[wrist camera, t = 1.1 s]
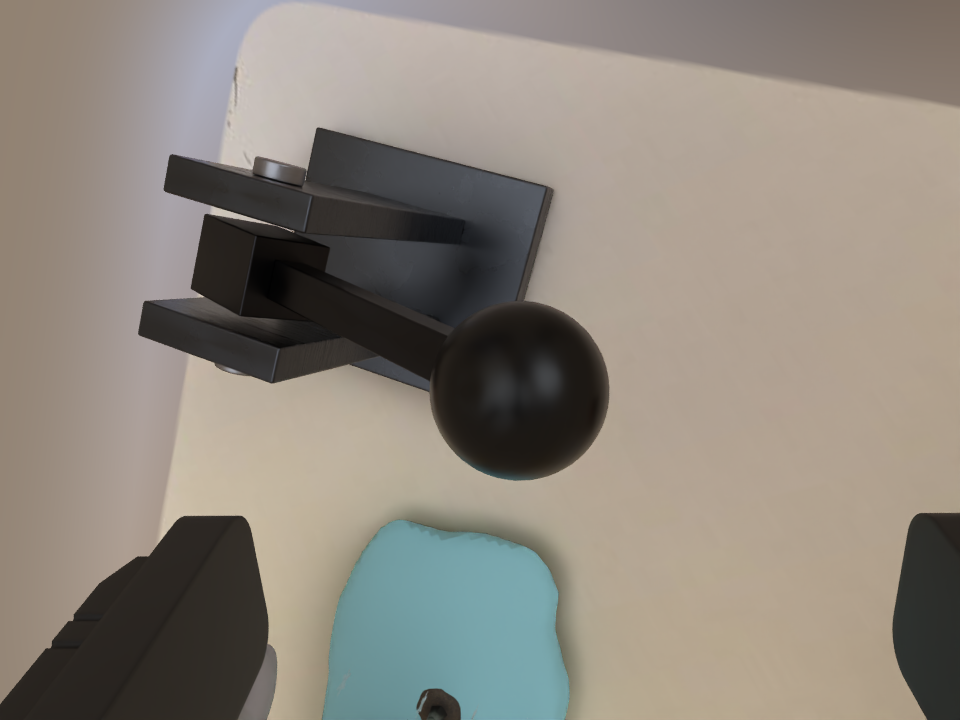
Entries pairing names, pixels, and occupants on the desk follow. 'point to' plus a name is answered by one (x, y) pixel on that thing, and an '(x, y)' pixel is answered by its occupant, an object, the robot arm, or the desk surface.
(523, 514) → the desk surface
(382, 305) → the lever
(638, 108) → the desk surface
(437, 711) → the penguin figurine
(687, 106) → the desk surface
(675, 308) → the desk surface
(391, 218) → the switch bracket
